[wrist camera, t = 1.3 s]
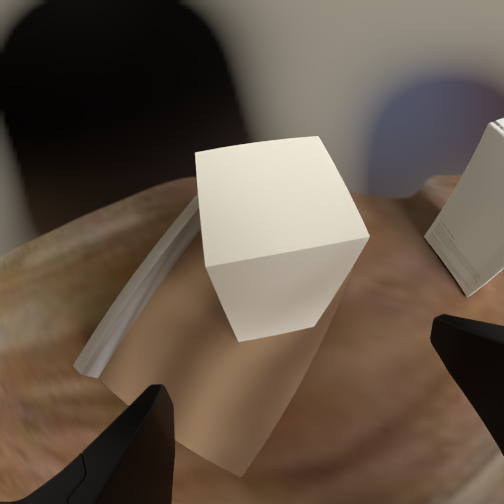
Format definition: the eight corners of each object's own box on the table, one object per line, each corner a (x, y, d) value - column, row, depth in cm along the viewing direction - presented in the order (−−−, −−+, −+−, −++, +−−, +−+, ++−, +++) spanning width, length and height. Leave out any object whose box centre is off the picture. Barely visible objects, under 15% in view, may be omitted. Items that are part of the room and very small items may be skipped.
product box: (313, 326, 19) (369, 236, 9) (238, 341, 19) (205, 266, 8) (294, 257, 22) (316, 132, 12) (226, 269, 22) (194, 148, 11)
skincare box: (489, 272, 21) (573, 187, 8) (464, 301, 20) (569, 210, 7) (446, 214, 25) (510, 113, 12) (417, 234, 24) (490, 117, 11)
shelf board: (349, 275, 22) (362, 255, 19) (242, 473, 15) (238, 488, 12) (208, 211, 26) (201, 185, 23) (95, 371, 19) (71, 364, 16)
